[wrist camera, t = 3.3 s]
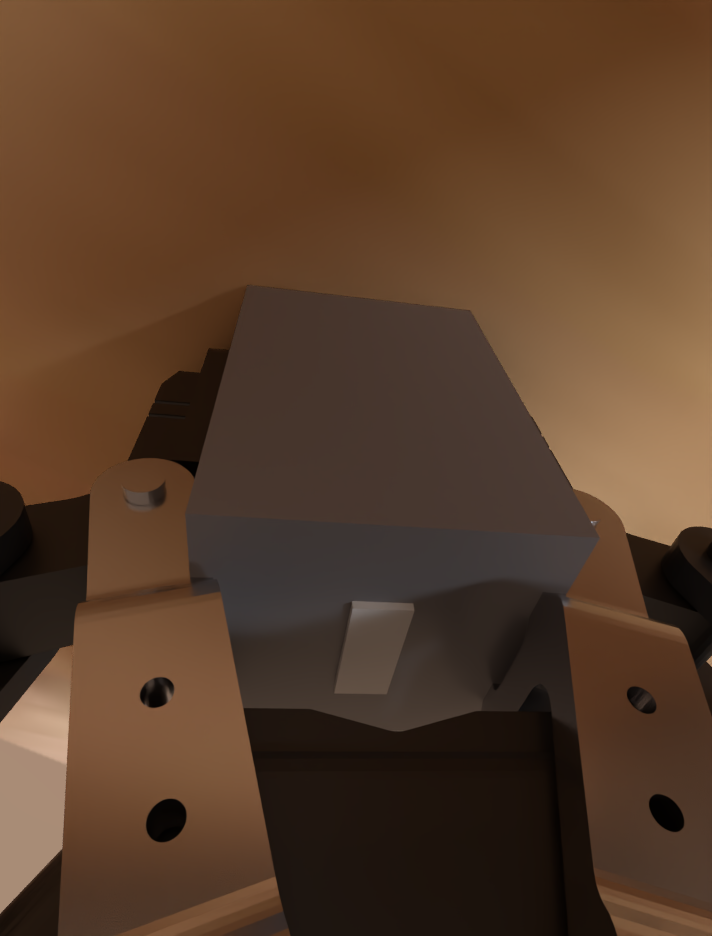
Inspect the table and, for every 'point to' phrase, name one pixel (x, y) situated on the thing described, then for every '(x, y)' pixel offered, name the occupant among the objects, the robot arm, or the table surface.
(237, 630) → the block
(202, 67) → the table surface
